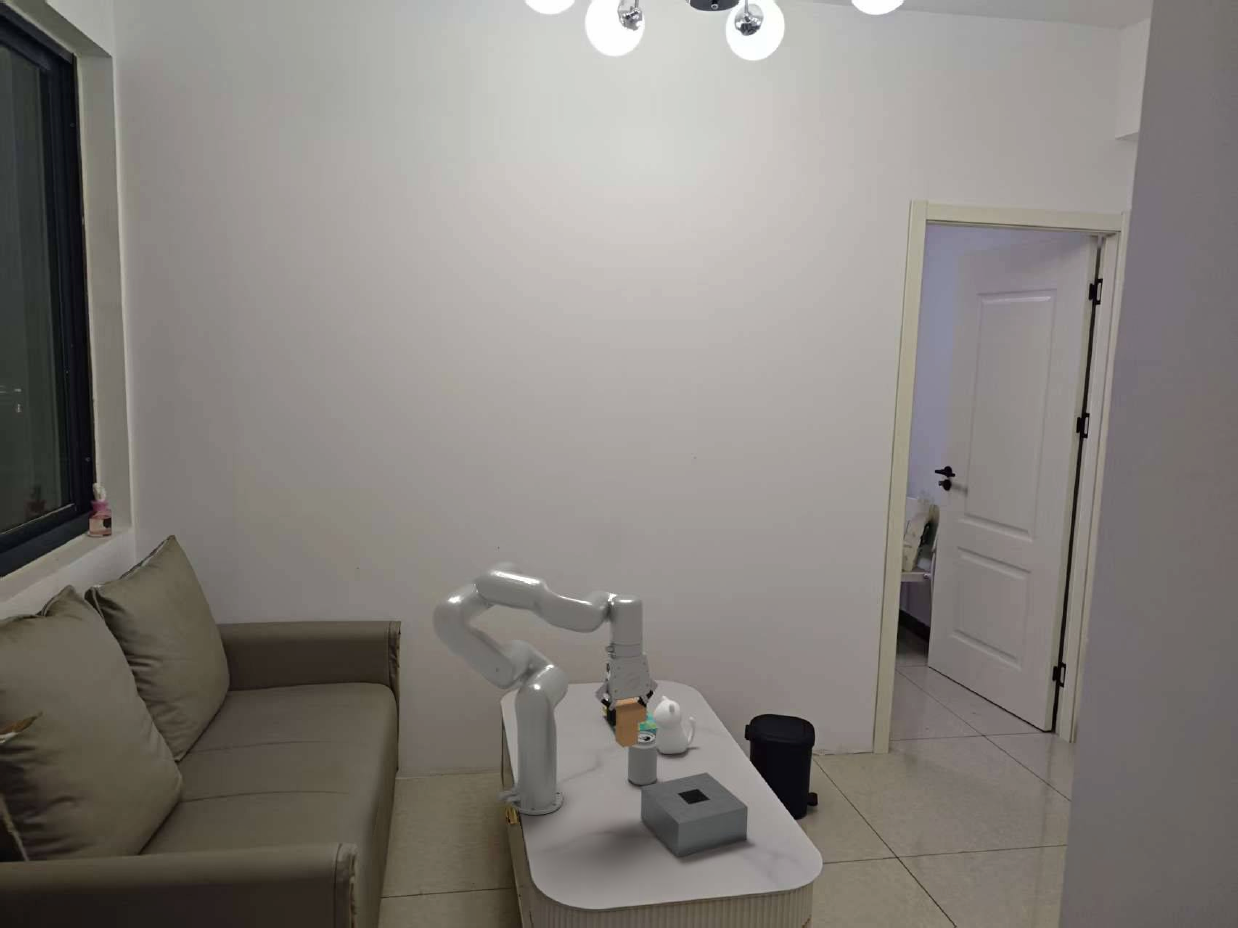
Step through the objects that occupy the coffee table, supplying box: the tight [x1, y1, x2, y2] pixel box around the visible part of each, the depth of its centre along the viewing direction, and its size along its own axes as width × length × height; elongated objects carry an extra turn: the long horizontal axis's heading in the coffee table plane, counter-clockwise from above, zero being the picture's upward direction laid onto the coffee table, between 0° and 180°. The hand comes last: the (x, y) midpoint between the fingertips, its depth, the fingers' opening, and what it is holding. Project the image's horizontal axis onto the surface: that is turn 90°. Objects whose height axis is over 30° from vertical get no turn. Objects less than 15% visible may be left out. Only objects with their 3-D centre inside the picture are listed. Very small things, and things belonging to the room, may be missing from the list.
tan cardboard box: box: [614, 698, 648, 748], centre depth 210 cm, size 7×7×9 cm
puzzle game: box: [602, 704, 659, 739], centre depth 263 cm, size 12×5×20 cm
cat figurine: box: [652, 695, 697, 755], centre depth 248 cm, size 9×12×15 cm
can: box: [627, 732, 658, 786], centre depth 230 cm, size 8×8×12 cm
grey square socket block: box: [640, 772, 749, 859], centre depth 207 cm, size 18×18×8 cm
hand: (626, 720), depth 210 cm, fingers closed on tan cardboard box, 7 cm apart
